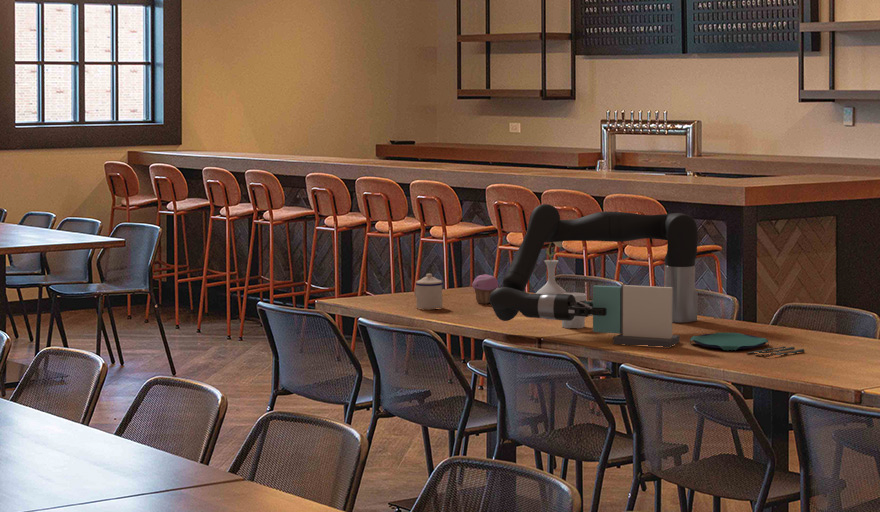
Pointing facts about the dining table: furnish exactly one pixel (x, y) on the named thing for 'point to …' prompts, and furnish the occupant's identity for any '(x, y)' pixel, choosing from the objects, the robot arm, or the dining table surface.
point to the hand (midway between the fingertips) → (611, 309)
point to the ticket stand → (646, 316)
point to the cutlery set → (737, 342)
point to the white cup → (577, 320)
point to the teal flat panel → (612, 302)
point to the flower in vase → (551, 276)
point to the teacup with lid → (428, 292)
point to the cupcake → (484, 287)
